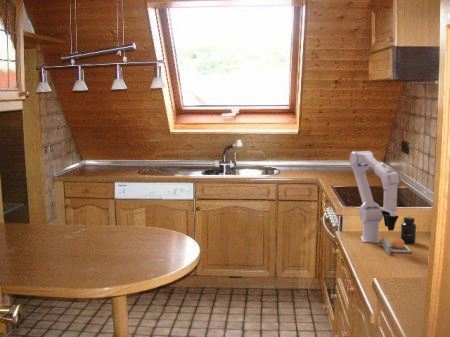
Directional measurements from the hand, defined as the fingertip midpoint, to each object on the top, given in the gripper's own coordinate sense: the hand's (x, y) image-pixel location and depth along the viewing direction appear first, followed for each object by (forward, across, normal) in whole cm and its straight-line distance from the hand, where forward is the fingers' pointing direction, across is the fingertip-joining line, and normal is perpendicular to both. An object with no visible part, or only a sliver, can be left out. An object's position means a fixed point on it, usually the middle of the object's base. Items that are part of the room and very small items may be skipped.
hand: (389, 228), depth 236 cm
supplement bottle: (+10, -11, +11) cm, 18 cm away
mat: (+9, +2, +4) cm, 10 cm away
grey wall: (+9, +2, -2) cm, 10 cm away
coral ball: (+6, +2, +4) cm, 8 cm away
